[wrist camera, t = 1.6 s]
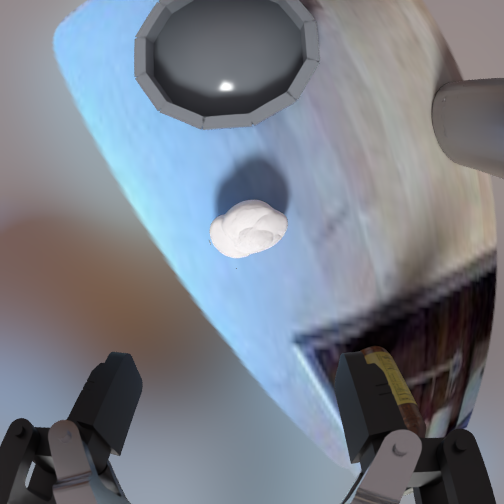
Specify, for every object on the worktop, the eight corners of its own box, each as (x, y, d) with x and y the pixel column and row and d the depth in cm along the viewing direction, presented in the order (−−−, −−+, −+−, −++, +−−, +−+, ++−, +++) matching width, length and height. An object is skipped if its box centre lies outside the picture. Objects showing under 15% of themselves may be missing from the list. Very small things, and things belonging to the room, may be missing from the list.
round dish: (304, -13, 16) (309, -26, 13) (315, 126, 22) (323, 125, 19) (148, 2, 16) (137, -9, 14) (150, 137, 22) (137, 138, 20)
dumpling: (269, 181, 24) (271, 189, 20) (294, 230, 26) (299, 247, 22) (200, 216, 26) (191, 230, 22) (228, 261, 27) (224, 282, 24)
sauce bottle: (354, 380, 35) (388, 504, 17) (338, 358, 33) (374, 501, 15) (395, 358, 33) (445, 478, 15) (383, 333, 31) (443, 471, 13)
